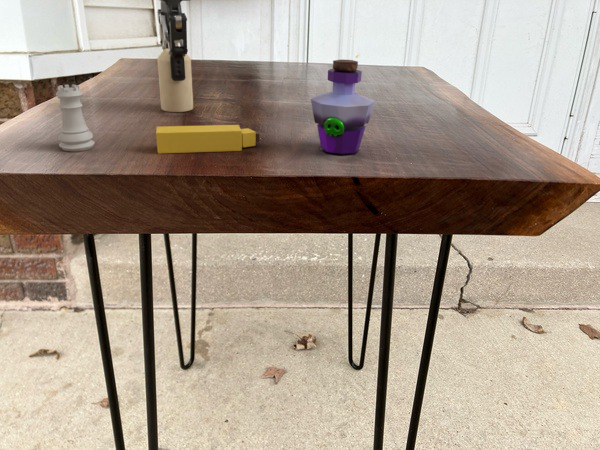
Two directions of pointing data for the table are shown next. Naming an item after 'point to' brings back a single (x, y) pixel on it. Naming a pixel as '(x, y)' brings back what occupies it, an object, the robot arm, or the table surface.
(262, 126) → the table surface
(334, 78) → the potion bottle
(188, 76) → the candle
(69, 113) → the rook chess piece
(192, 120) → the table surface
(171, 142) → the yellow highlighter marker
